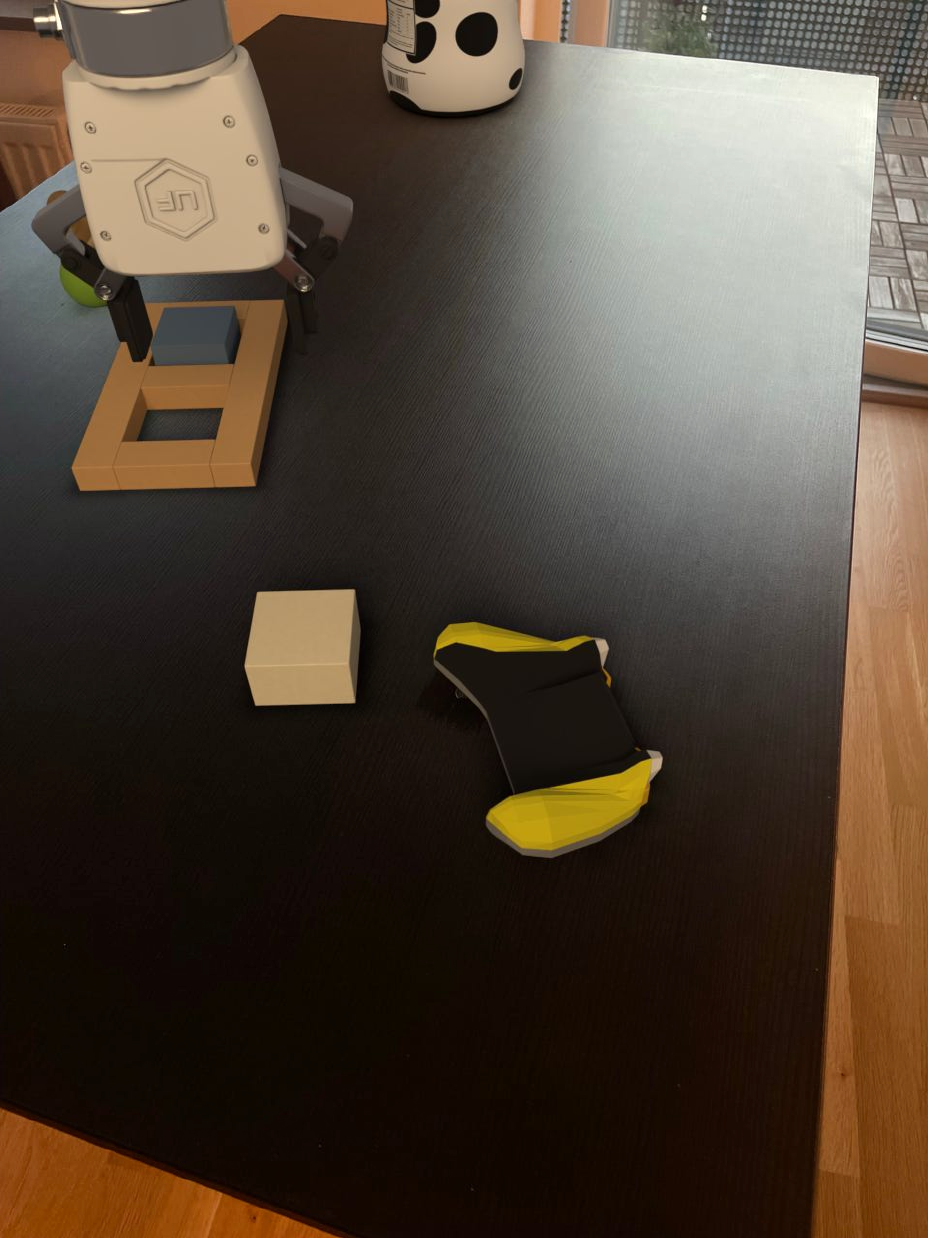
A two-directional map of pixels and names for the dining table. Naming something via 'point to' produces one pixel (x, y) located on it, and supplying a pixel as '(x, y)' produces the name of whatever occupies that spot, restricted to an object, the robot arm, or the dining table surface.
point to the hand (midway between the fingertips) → (223, 345)
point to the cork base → (142, 385)
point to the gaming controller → (550, 736)
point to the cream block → (304, 647)
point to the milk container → (452, 55)
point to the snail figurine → (69, 281)
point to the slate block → (196, 336)
